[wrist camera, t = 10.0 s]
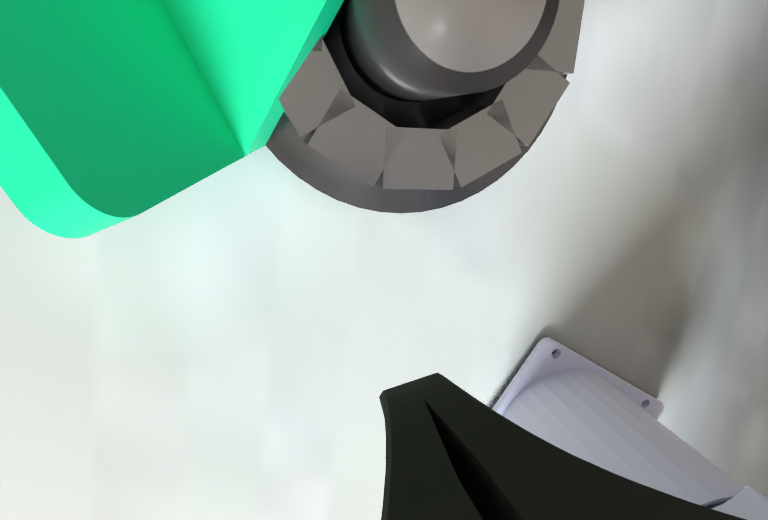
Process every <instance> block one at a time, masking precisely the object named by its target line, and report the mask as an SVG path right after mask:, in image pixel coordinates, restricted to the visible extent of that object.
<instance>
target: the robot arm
mask: <svg viewBox="0 0 768 520" xmlns="http://www.w3.org/2000/svg"><path fill="white" fill-rule="evenodd" d="M555 349H556V352H555V353H554V354H552V352H553V351H554V350H555ZM379 398H380V402H381V406H382V409H383V413H384V417H385V428H386V474H385V486H384V498H383V509H382V517H381V520H768V499H766V498H765V497H764V496H763V495H761V494H760V493H759V492H757V491H756V490H755V489H753V488H752V487H751V486H746V487H743V486H741V485H740V484H739V483H738V482H736V481H735V480H734V479H732V478H731V477H730V476H729V475H727V474H726V473H725V472H723V471H722V470H721V469H719V468H718V467H717V466H716V465H714V464H713V463H712V462H710V461H709V460H708V459H707V458H705V457H704V456H703V455H701V454H700V453H699V452H697V451H696V450H695V449H694V448H692V447H691V446H690V445H688V444H687V443H686V442H685V441H683V440H682V439H681V438H679V437H678V436H677V435H675V434H674V433H673V432H672V431H670V430H669V429H668V428H666V427H665V426H664V425H662V424H661V423H660V422H659V421H657V419H658V417H659V416H660V415H661V413H662V412H663V409H664V406H663V404H662V402H660V401H659V400H657V399H656V398H654V397H652V396H650V395H649V394H647V393H645V392H644V391H642V390H640V389H638V388H637V387H635V386H633V385H631V384H630V383H628V382H626V381H624V380H623V379H621V378H619V377H618V376H616V375H614V374H612V373H611V372H609V371H607V370H605V369H604V368H602V367H600V366H598V365H597V364H595V363H593V362H592V361H590V360H588V359H586V358H585V357H583V356H581V355H579V354H578V353H576V352H574V351H572V350H571V349H569V348H567V347H566V346H564V345H562V344H560V343H559V342H557V341H555V340H553V339H552V338H549V337H546V338H543V339H541V340H540V341H539V342H538V343H537V345H536V346H535V348H534V349H533V350H532V352H531V353H530V355H529V356H528V358H527V359H526V361H525V362H524V363H523V365H522V366H521V368H520V369H519V371H518V372H517V374H516V375H515V376H514V378H513V379H512V381H511V382H510V384H509V385H508V387H507V388H506V389H505V391H504V392H503V394H502V395H501V397H500V398H499V399H498V401H497V402H496V404H495V405H494V407H493V408H492V409H491V408H489V407H488V406H486V405H485V404H483V403H481V402H480V401H479V400H477V399H476V398H474V397H473V396H471V395H470V394H468V393H467V392H465V391H464V390H462V389H461V388H460V387H458V386H457V385H455V384H454V383H452V382H451V381H450V380H448V379H447V378H445V377H444V376H443V375H441V374H439V373H435V374H432V375H429V376H426V377H423V378H420V379H417V380H414V381H411V382H408V383H405V384H402V385H399V386H396V387H393V388H390V389H387V390H384V391H383V392H382V394H381V395H380V397H379Z"/></svg>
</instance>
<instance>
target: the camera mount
mask: <svg viewBox="0 0 768 520" xmlns="http://www.w3.org/2000/svg"><path fill="white" fill-rule="evenodd" d="M343 1H344V0H0V186H1V187H2V188H3V190H4V191H5V192H6V194H7V195H8V196H9V198H10V199H11V200H12V202H13V203H14V204H15V206H16V207H17V208H18V209H19V211H20V212H21V213H22V214H23V215H24V216H25V217H26V218H27V219H28V220H29V221H30V222H32V223H33V224H34V225H36V226H37V227H39V228H40V229H42V230H44V231H46V232H48V233H51V234H53V235H56V236H60V237H65V238H81V237H86V236H89V235H91V234H93V233H96V232H98V231H101V230H103V229H105V228H108V227H110V226H112V225H115V224H117V223H120V222H122V221H124V220H127V219H129V218H131V217H134V216H136V215H138V214H140V213H142V212H144V211H146V210H148V209H149V208H151V207H153V206H155V205H157V204H159V203H160V202H162V201H164V200H166V199H168V198H170V197H171V196H173V195H175V194H177V193H179V192H181V191H182V190H184V189H186V188H188V187H190V186H191V185H193V184H195V183H197V182H199V181H201V180H202V179H204V178H206V177H208V176H210V175H212V174H213V173H215V172H217V171H219V170H221V169H223V168H224V167H226V166H228V165H230V164H232V163H233V162H235V161H237V160H239V159H241V158H243V157H244V156H246V155H248V154H250V153H252V152H254V151H255V150H257V149H259V148H261V147H263V146H265V145H266V143H267V141H268V140H269V138H270V136H271V134H272V132H273V130H274V128H275V127H276V125H277V123H278V121H279V119H280V117H281V116H282V114H283V112H284V111H283V108H282V106H281V104H280V101H279V97H280V96H281V94H282V93H283V91H284V90H285V88H286V87H287V85H288V84H289V82H290V81H291V79H292V78H293V77H294V75H295V74H296V72H297V71H298V69H299V68H300V66H301V65H302V63H303V62H304V60H305V59H306V57H307V56H308V54H309V53H310V52H311V50H312V49H313V47H314V46H315V44H316V43H317V41H318V40H319V38H320V37H321V35H322V39H323V38H324V36H325V34H326V33H327V31H328V29H329V27H330V25H331V23H332V22H333V20H334V18H335V16H336V14H337V12H338V11H339V9H340V7H341V5H342V3H343Z"/></svg>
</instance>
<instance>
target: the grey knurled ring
mask: <svg viewBox="0 0 768 520" xmlns="http://www.w3.org/2000/svg"><path fill="white" fill-rule="evenodd" d="M583 7H584V0H560V1H559V6H558V11H557V14H556V18H555V21H554V24H553V27H552V29H551V31H550V34H549V36H548V38H547V40H546V42H545V44H544V45H543V47H542V49H541V50H540V52H539V53H538V54H537V56H536V57H535V59H534V60H533V61H532V62H531V63H530V64H529V65H528V66H527V68H525V69H524V70H523V71H522V72H521V73H520V74H519V75H517V76H516V77H514V78H513V79H511V80H510V81H508V82H507V83H505V84H503V85H501V86H499V87H497V88H494V89H491V90H487V91H483V92H477V93H471V94H465V95H458V96H452V97H445V98H439V99H432V100H426V101H419V102H402V101H397V100H393V99H390V98H388V97H385V96H383V95H381V94H379V93H378V92H376V91H374V90H373V89H372V88H371V87H369V86H368V85H367V84H366V83H365V82H364V81H363V80H362V79H361V78H360V77H359V75H358V74H357V73H356V71H355V70H354V68H353V67H352V65H351V63H350V61H349V59H348V57H347V54H346V52H345V49H344V46H343V42H342V37H341V31H340V9H341V7H340V9H339V11H338V12H337V14H336V16H335V18H334V20H333V22H332V23H331V25H330V27H329V29H328V31H327V33H326V34H325V36H324V38H323V39H322V35H321V37H320V38H319V40H318V41H317V43H316V44H315V46H314V47H313V49H312V50H311V52H310V53H309V54H308V56H307V57H306V59H305V60H304V62H303V63H302V65H301V66H300V68H299V69H298V71H297V72H296V74H295V75H294V77H293V78H292V79H291V81H290V82H289V84H288V85H287V87H286V88H285V90H284V91H283V93H282V94H281V96H280V97H279V101H280V104H281V106H282V108H283V111H284V112H283V114H282V116H281V117H280V119H279V121H278V123H277V125H276V127H275V128H274V130H273V132H272V134H271V136H270V138H269V140H268V141H267V143H266V146H267V147H268V148H269V149H270V151H271V152H272V153H273V154H274V155H275V156H276V157H277V159H278V160H279V161H280V162H282V163H283V164H284V165H285V166H286V167H287V168H288V169H290V170H291V171H292V172H293V173H294V174H295V175H296V176H298V177H299V178H300V179H302V180H303V181H305V182H306V183H308V184H309V185H311V186H312V187H314V188H315V189H317V190H319V191H321V192H323V193H324V194H326V195H328V196H330V197H332V198H334V199H336V200H339V201H342V202H345V203H347V204H350V205H353V206H356V207H359V208H364V209H369V210H374V211H379V212H391V213H410V212H423V211H428V210H433V209H438V208H442V207H445V206H448V205H451V204H454V203H457V202H460V201H462V200H464V199H466V198H468V197H470V196H472V195H474V194H476V193H478V192H480V191H482V190H483V189H485V188H486V187H488V186H489V185H491V184H492V183H494V182H495V181H497V180H498V179H499V178H500V177H502V176H503V175H504V174H505V173H506V172H508V171H509V170H510V169H511V168H512V167H513V166H514V165H515V164H516V163H517V162H518V161H519V160H520V159H521V158H522V157H523V156H524V154H525V153H526V152H527V151H528V150H529V149H530V147H531V146H532V145H533V143H534V142H535V140H536V139H537V138H538V136H539V135H540V134H541V132H542V130H543V129H544V127H545V125H546V123H547V122H548V120H549V118H550V116H551V115H552V113H553V110H554V108H555V106H556V103H557V102H558V100H559V99H560V97H561V96H562V94H563V93H564V91H565V89H566V88H567V86H568V85H569V82H568V81H567V80H566V76H567V74H571V73H574V66H575V59H576V53H577V46H578V40H579V33H580V27H581V20H582V13H583Z"/></svg>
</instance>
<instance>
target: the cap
mask: <svg viewBox="0 0 768 520" xmlns="http://www.w3.org/2000/svg"><path fill="white" fill-rule="evenodd" d="M559 1H560V0H344V1H343V3H342V5H341V9H340V31H341V37H342V42H343V46H344V49H345V52H346V54H347V57H348V59H349V61H350V63H351V65H352V67H353V68H354V70H355V71H356V73H357V74H358V75H359V77H360V78H361V79H362V80H363V81H364V82H365V83H366V84H367V85H368V86H369V87H371V88H372V89H373V90H374V91H376V92H378V93H379V94H381V95H383V96H385V97H388V98H390V99H393V100H397V101H402V102H419V101H426V100H432V99H439V98H445V97H452V96H458V95H465V94H471V93H477V92H483V91H487V90H491V89H494V88H497V87H499V86H501V85H503V84H505V83H507V82H508V81H510V80H511V79H513V78H514V77H516V76H517V75H519V74H520V73H521V72H522V71H523V70H524V69H525V68H527V66H528V65H529V64H530V63H531V62H532V61H533V60H534V59H535V57H536V56H537V54H538V53H539V52H540V50H541V49H542V47H543V45H544V44H545V42H546V40H547V38H548V36H549V34H550V31H551V29H552V27H553V24H554V21H555V18H556V14H557V11H558V6H559Z"/></svg>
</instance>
